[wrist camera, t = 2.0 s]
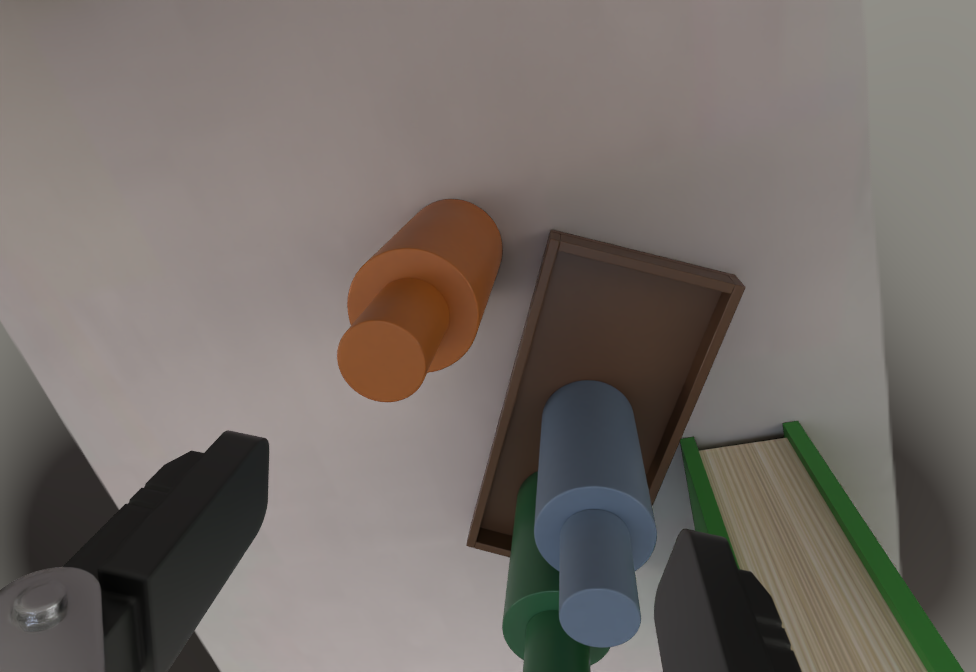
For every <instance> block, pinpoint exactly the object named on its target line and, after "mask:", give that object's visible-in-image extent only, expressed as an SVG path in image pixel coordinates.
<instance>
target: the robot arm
mask: <svg viewBox="0 0 976 672" xmlns="http://www.w3.org/2000/svg"><path fill="white" fill-rule="evenodd" d="M268 474H269V443H268V440H267V439H266V438H262V437H257V436H252V435H248V434H243V433H238V432H233V431H225V432H224V433H223V434H222V435H221V436H220V437H219V438H218V439H217V440H216V441H215V442H214V443H213V444H212V445H211V446H210V447H209V448H208V450H207V451H206V452H205V453H200V452H196V451H190V452H188V453H186V454H184V455H182V456H180V457H179V458H177V459H175V460H173V461H171V462H169V463H167V464H165V465H164V466H163V467H162V468H161V469H160V470H159V471H158V472H157V473H156V474H155V475H154V476H153V477H152V478H151V479H150V480H149V481H148V482H147V483H146V485H145V487H144V488H141V489H140V490H139V491H138V492H137V493H136V494H135V495H134V496H133V497H132V498H131V499H130V501H129V503H128V504H125V505H124V506H123V507H122V508H121V509H120V510H119V511H118V512H117V513H116V514H115V515H114V516H113V517H112V518H111V519H110V520H109V521H108V522H107V523H106V524H105V525H104V526H103V527H102V528H101V529H100V530H99V531H98V532H97V533H96V534H95V535H94V536H93V537H92V538H91V539H90V540H89V541H88V542H87V543H86V544H85V545H84V546H83V547H82V548H81V549H80V550H79V551H78V552H77V553H76V554H75V555H74V556H73V557H72V558H71V559H70V560H69V561H68V562H67V563H66V564H65V565H64V566H63V567H57V568H50V569H44V570H41V571H37V572H33V573H31V574H28V575H26V576H23V577H21V578H19V579H17V580H15V581H13V582H11V583H10V584H8V585H7V586H5V587H4V588H2V589H1V590H0V672H168V670H169V668H170V667H171V665H172V664H173V662H174V661H175V659H176V658H177V656H178V655H179V653H180V651H181V650H182V649H183V647H184V646H185V644H186V642H187V641H188V639H189V638H190V636H191V635H192V633H193V632H194V630H195V629H196V627H197V626H198V624H199V623H200V621H201V619H202V618H203V616H204V615H205V613H206V612H207V610H208V609H209V607H210V606H211V604H212V603H213V601H214V599H215V598H216V596H217V595H218V593H219V592H220V590H221V589H222V587H223V586H224V584H225V583H226V581H227V580H228V578H229V576H230V575H231V573H232V572H233V570H234V569H235V567H236V566H237V564H238V563H239V561H240V560H241V558H242V557H243V555H244V553H245V552H246V550H247V549H248V547H249V546H250V544H251V543H252V541H253V540H254V538H255V537H256V535H257V533H258V531H259V529H260V527H261V525H262V523H263V520H264V517H265V513H266V509H267V503H268ZM654 620H655V627H656V633H657V638H658V644H659V650H660V656H661V662H662V668H663V672H802V671H801V668H800V666H799V663H798V661H797V658H796V656H795V654H794V651H793V650H791V648H790V647H791V644H790V641H789V639H788V636H787V634H786V631H785V629H784V628H782V621H781V619H780V616H779V614H778V611H777V609H776V606H775V604H774V601H773V599H772V596H771V595H770V594H769V593H768V592H767V590H766V589H765V588H764V587H763V585H762V584H761V583H760V582H759V580H758V579H757V578H756V577H755V576H754V574H753V573H752V572H750V571H746V570H741V569H738V567H737V564H736V562H735V559H734V556H733V553H732V550H731V548H730V545H729V542H728V541H727V539H726V538H725V537H722V536H717V535H712V534H708V533H703V532H698V531H693V530H689V529H683V530H682V531H681V532H680V533H679V535H678V537H677V540H676V542H675V545H674V547H673V550H672V553H671V555H670V558H669V560H668V563H667V565H666V568H665V570H664V573H663V575H662V578H661V580H660V583H659V585H658V588H657V592H656V597H655V605H654Z"/></svg>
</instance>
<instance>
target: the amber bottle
mask: <svg viewBox="0 0 976 672" xmlns="http://www.w3.org/2000/svg"><path fill="white" fill-rule="evenodd" d="M502 252H503V247H502V240H501V235H500V233H499V230H498V228H497V226H496V224H495V223H494V221H493V220H492V219H491V217H490V216H489V215H488V214H487V213H486V212H485V211H483V210H482V209H481V208H479V207H478V206H476V205H474V204H472V203H470V202H466V201H463V200H458V199H445V200H440V201H436V202H434V203H431V204H429V205H428V206H426V207H424V208H423V209H422V210H421V211H419V212H418V213H417V214H416V215H415V216H414V217H413V218H412V219H411V220H410V221H409V222H408V223H407V224H406V225H405V226H404V227H403V228H402V229H401V230H400V231H399V232H397V233H396V234H395V235H394V236H393V237H392V238H391V239H390V240H389V241H388V242H387V243H386V244H385V245H384V246H383V247H382V248H381V249H380V250H379V251H378V252H377V253H375V254H374V255H373V256H372V257H371V258H370V259H369V260H368V261H367V262H366V263H365V264H364V265H363V266H362V267H361V268H360V269H359V271H358V272H357V273H356V275H355V277H354V279H353V281H352V283H351V286H350V289H349V293H348V302H347V307H348V315H349V320H350V324H351V327H350V328H349V329H348V330H347V331H346V333H345V334H344V335H343V337H342V339H341V340H340V343H339V346H338V350H337V360H338V366H339V369H340V372H341V374H342V376H343V378H344V379H345V381H346V382H347V383H348V384H349V386H350V387H351V388H353V389H354V390H355V391H356V392H358V393H359V394H361V395H362V396H364V397H366V398H368V399H371V400H374V401H379V402H395V401H399V400H402V399H405V398H407V397H409V396H410V395H412V394H413V393H414V392H416V391H417V390H418V388H419V387H420V386H421V384H422V383H423V380H424V378H425V376H426V374H427V373H428V372H434V371H438V370H441V369H444V368H446V367H448V366H450V365H452V364H453V363H455V362H456V361H458V360H459V359H460V358H461V357H462V356H463V355H464V354H465V353H466V352H467V351H468V349H469V348H470V346H471V345H472V343H473V341H474V339H475V337H476V334H477V331H478V328H479V325H480V322H481V319H482V316H483V313H484V310H485V308H486V305H487V302H488V299H489V296H490V293H491V290H492V287H493V284H494V281H495V278H496V275H497V272H498V270H499V267H500V263H501V260H502Z"/></svg>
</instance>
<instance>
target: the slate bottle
mask: <svg viewBox="0 0 976 672" xmlns="http://www.w3.org/2000/svg"><path fill="white" fill-rule="evenodd" d="M534 538H535V542H536V545H537V547H538V550H539V552H540V553H541V555H542V556H543V558H544V559H545V560H546V561H547V562H548V563H549V564H550V565H551V566H552V567H554V568H555V569H556V570H558V571H559V620H560V623H561V626H562V628H563V629H564V631H565V632H566V633H567V634H568V635H569V636H570V637H571V638H573V639H574V640H576V641H577V642H579V643H582V644H584V645H587V646H592V647H599V648H605V647H613V646H617V645H620V644H623V643H625V642H627V641H628V640H630V639H631V638H632V637H633V636H634V635H635V634H636V633H637V631H638V629H639V626H640V623H641V614H640V606H639V599H638V592H637V585H636V577H635V571H636V570H637V569H639V568H640V567H641V566H642V565H643V564H644V563H645V562H646V561H647V560H648V559H649V557H650V556H651V554H652V552H653V550H654V547H655V544H656V539H657V531H656V525H655V520H654V515H653V510H652V505H651V500H650V495H649V489H648V484H647V479H646V474H645V469H644V464H643V459H642V454H641V449H640V444H639V439H638V434H637V429H636V423H635V418H634V413H633V410H632V407H631V405H630V403H629V401H628V400H627V398H626V397H625V396H624V395H623V394H622V393H621V392H620V391H619V390H617V389H616V388H614V387H613V386H611V385H608V384H606V383H603V382H599V381H593V380H582V381H576V382H572V383H569V384H567V385H565V386H563V387H561V388H560V389H558V390H557V391H555V392H554V393H553V394H552V395H551V397H550V398H549V399H548V401H547V402H546V404H545V406H544V409H543V413H542V424H541V438H540V452H539V467H538V481H537V495H536V509H535V524H534Z"/></svg>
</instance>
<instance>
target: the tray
mask: <svg viewBox="0 0 976 672" xmlns="http://www.w3.org/2000/svg"><path fill="white" fill-rule="evenodd" d="M744 290H745V286H744V285H743V284H742V282H741V281H740V280H739V279H738V278H737V277H736V275H733V274H729V273H725V272H721V271H716V270H712V269H708V268H704V267H700V266H696V265H692V264H688V263H684V262H680V261H676V260H672V259H668V258H664V257H660V256H656V255H652V254H648V253H644V252H640V251H636V250H632V249H628V248H624V247H620V246H616V245H612V244H608V243H604V242H600V241H596V240H592V239H588V238H584V237H580V236H576V235H572V234H568V233H564V232H560V231H556V230H550V234H549V238H548V241H547V245H546V249H545V252H544V256H543V260H542V263H541V267H540V271H539V275H538V278H537V282H536V286H535V289H534V293H533V297H532V300H531V304H530V308H529V312H528V315H527V319H526V323H525V326H524V330H523V334H522V337H521V341H520V345H519V348H518V352H517V356H516V360H515V363H514V367H513V371H512V374H511V378H510V382H509V385H508V389H507V393H506V397H505V400H504V404H503V408H502V411H501V415H500V419H499V422H498V426H497V430H496V434H495V437H494V441H493V445H492V448H491V452H490V456H489V459H488V463H487V467H486V470H485V474H484V478H483V482H482V485H481V489H480V493H479V496H478V500H477V504H476V507H475V511H474V515H473V519H472V522H471V526H470V531H469V536H468V540H467V546H469V547H473V548H474V547H475V548H476V549H480V550H484V551H488V552H491V553H495V554H499V555H503V556H507V557H510V555H511V546H512V537H513V529H514V520H515V511H516V503H517V495H518V491H519V489H520V487H521V485H522V483H523V482H524V481H525V480H526V479H527V478H528V477H529V476H530V475H532V474H533V473H535V472H537V471H538V467H539V452H540V438H541V424H542V413H543V409H544V406H545V404H546V402H547V401H548V399H549V398H550V397H551V395H552V394H553V393H554V392H555V391H557V390H558V389H560V388H561V387H563V386H565V385H567V384H569V383H572V382H576V381H582V380H593V381H599V382H603V383H606V384H608V385H611V386H613V387H614V388H616V389H617V390H619V391H620V392H621V393H622V394H623V395H624V396H625V397H626V398H627V400H628V401H629V403H630V405H631V407H632V410H633V413H634V418H635V423H636V429H637V434H638V439H639V444H640V449H641V454H642V459H643V464H644V469H645V474H646V479H647V484H648V489H649V495H650V500H651V505H653V503H654V500H655V498H656V496H657V493H658V491H659V489H660V486H661V484H662V482H663V479H664V477H665V475H666V472H667V470H668V468H669V465H670V463H671V461H672V458H673V456H674V454H675V451H676V449H677V447H678V444H679V442H680V440H681V437H682V435H683V433H684V430H685V428H686V426H687V423H688V421H689V418H690V416H691V414H692V411H693V409H694V407H695V404H696V402H697V400H698V397H699V395H700V393H701V390H702V388H703V386H704V383H705V381H706V379H707V376H708V374H709V372H710V369H711V367H712V365H713V362H714V360H715V358H716V355H717V353H718V351H719V348H720V346H721V344H722V341H723V339H724V336H725V334H726V332H727V329H728V327H729V325H730V322H731V320H732V318H733V315H734V313H735V311H736V308H737V306H738V304H739V301H740V299H741V297H742V294H743V292H744Z"/></svg>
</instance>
